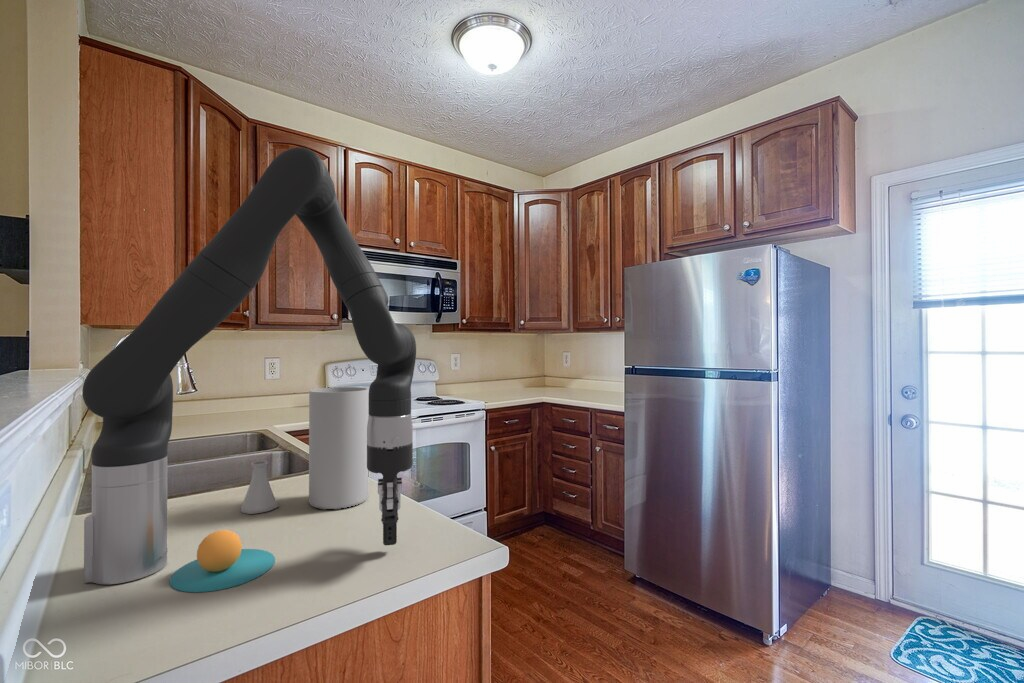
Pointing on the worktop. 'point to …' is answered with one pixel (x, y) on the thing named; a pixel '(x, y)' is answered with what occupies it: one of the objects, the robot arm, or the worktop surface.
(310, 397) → the cylinder vase
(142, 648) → the worktop surface
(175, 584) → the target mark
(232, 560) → the ball
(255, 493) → the flask
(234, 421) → the worktop surface
